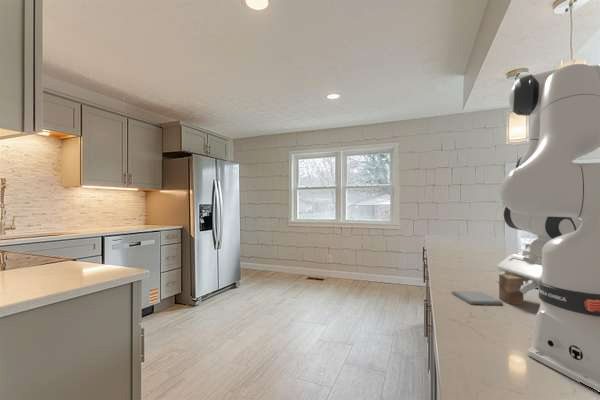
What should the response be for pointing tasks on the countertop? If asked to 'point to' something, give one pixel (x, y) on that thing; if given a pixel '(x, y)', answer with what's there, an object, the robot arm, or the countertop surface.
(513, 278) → the walnut block
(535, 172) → the robot arm
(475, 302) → the plate
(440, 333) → the countertop surface
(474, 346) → the countertop surface
